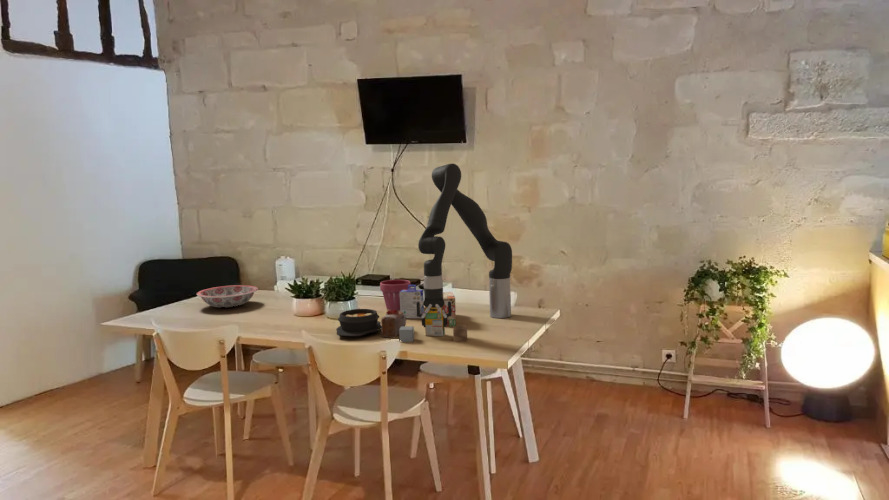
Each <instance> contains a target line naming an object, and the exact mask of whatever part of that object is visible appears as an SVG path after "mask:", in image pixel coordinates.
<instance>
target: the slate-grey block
mask: <svg viewBox="0 0 889 500" xmlns="http://www.w3.org/2000/svg"><path fill="white" fill-rule="evenodd" d="M414 329H415V327H414V326H406V325H405V326H404V327H400V329H399V334H398V335H399V336H398V337H399V341H400V340H401V341H402V342H401V343H413V342H414V340H415V330H414Z"/></svg>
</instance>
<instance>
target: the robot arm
mask: <svg viewBox="0 0 889 500" xmlns="http://www.w3.org/2000/svg"><path fill="white" fill-rule="evenodd" d="M431 179H432V182H433V183H434V185H435V187H436V188H437V189H438V191H439V192H440V195H439V197H438V198H437V200H436V201H435V203H434V204H433V206H432V208H431V210H430V213H429V217H428V221H427V225H426V227H425V228H424V231H423V232H422V235H421V236H420V238H419V241H418V245H417V246H418V250H419V253H421V254H424V255H433V259H428V260H424V262H423V296H424V302H420V301H417V317H421V318H420V319H421V325H422V326H423V328H425V316H426V314H427V313H428V311H429V310H430V311H437V309H438V310H439V311H440V313H441V308H442V313H443V316H444V328H447V327H448V326H447V324H448V317H449V316H451V315H452V304H451V300H449V301H444V299H443V292H444V284H443V282H444V280H443V271H442V270H443V269H442V265H443V264H442V263H443V258H444V254H445V251H446V242H445V239H444V238H443V237H442V236H437V235H439V234H443V233H444V232H445V229H446V224H447V220H448V215H449V212H450V209H451V206H452V207H453V209H454V210H455V211H456V213H457V214H458V216H459V217H460V218H461V219H460V220H462V221H463V223H464V224H465V226H466V227H467V228H468V229H469V231H470V232H471V234H472V235H473V237H474V238H475V240H476V241H477V243H478V244H479V246H480V248H481V250H482V252H483V253H484V255H485V256H486V258H487V259H488V260H490V261H492V262H494V263H493V264H494V265H493V269H491V270H489V272H488V289H489V316H490V317H491V318H493V319H495V318H496V319H503V318H506V319H507V318H511V317H512V302H511V301H512V300H511V296H512V295H511V273H512V269H513V249H512V246H511V244H510V243H509V242H507V241H502V240H497V238H495V236H494V235H493V234H492V232H491V231H490V230H489V227H488V220H487V217H486V216H487V215H486V214H485V213H484V211H483V209H482V208H481V206H480V205H479V204H478V203H477V202H476V201H475V200H474V199H473V198H471V197H469V196H468V195H465V194H464V193H463V192H462V191H460V190H459V186H460V184H461V179H462V171H461V168H460V167H459V166H458V164H456V163H448V164H445V165H441V166H437V167H435V168H433V170H432V171H431ZM423 304H424V308H425V307H426V308H427V309H426V310H425V309H424V313H423V314H421V313H420V307H422V305H423ZM444 304H446V306H447V307H448V313H446V312H445V310H444V309H443V305H444ZM430 308H437V309H430Z"/></svg>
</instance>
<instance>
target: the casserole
mask: <svg viewBox="0 0 889 500" xmlns="http://www.w3.org/2000/svg"><path fill="white" fill-rule="evenodd" d="M379 319H380V316H379V314H378V312H377V310H374V309H371V308H355V309H354V308H353V309H349V310H344V311H341V312H340V314H339V317H338V318H337V322H339V324H340V325H339V326H338V327H337V328H336V330H335V331H336V335H337V336H340V337H341V336H342V337H362V336H366V335H371V334H373V333H375V332H376V331H380V330H381V321H379Z"/></svg>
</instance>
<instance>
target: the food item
mask: <svg viewBox="0 0 889 500" xmlns="http://www.w3.org/2000/svg"><path fill="white" fill-rule="evenodd" d="M406 319H407V318H406V315H404V314H403V312H401V311H400V310H387V311H386V313H385V316H383V317H381V321H380V322H381V324H380V325H381V329H380V330H381V337H383V338H393V337H395V338H397V336H398V335H399V329H400V327H404V326H406V325H407V320H406Z"/></svg>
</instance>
